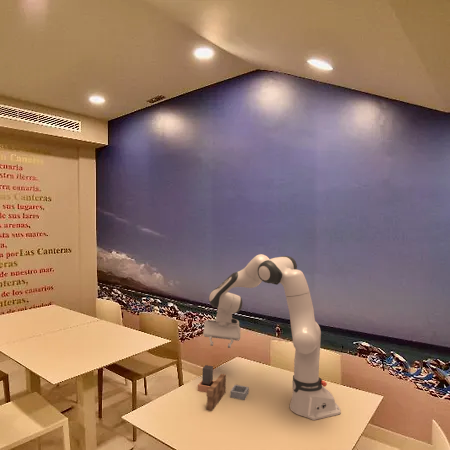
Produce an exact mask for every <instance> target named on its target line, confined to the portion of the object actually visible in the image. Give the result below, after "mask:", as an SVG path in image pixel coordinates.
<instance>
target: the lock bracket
mask: <svg viewBox="0 0 450 450" xmlns="http://www.w3.org/2000/svg"><path fill="white" fill-rule="evenodd" d="M215 381H216V380H213V383H214V382H215ZM209 388H210V386H205V385H202V380H201V381H200V382H199V383H198V384H197V392H200V393H201V392H202V393H206V394H207V390H208V389H209Z"/></svg>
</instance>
